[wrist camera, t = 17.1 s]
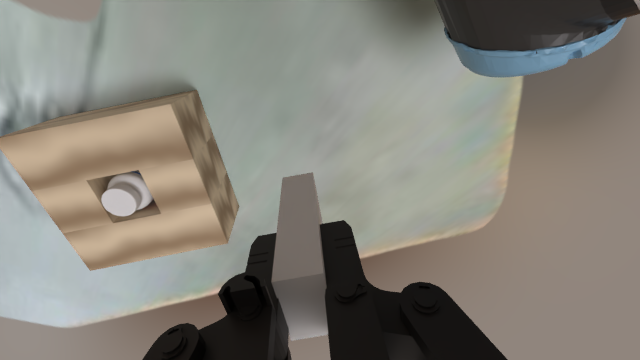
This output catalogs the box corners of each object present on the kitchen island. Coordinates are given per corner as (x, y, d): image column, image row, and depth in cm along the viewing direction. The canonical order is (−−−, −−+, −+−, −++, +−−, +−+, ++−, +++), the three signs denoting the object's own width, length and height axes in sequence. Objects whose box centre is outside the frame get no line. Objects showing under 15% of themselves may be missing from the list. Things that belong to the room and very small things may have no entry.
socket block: (58, 117, 40) (-7, 139, 31) (196, 89, 40) (170, 104, 32) (126, 228, 49) (90, 270, 41) (239, 206, 50) (227, 243, 41)
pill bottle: (164, 192, 45) (133, 228, 37) (129, 177, 44) (88, 211, 35) (176, 165, 44) (148, 196, 35) (140, 148, 42) (101, 176, 33)
